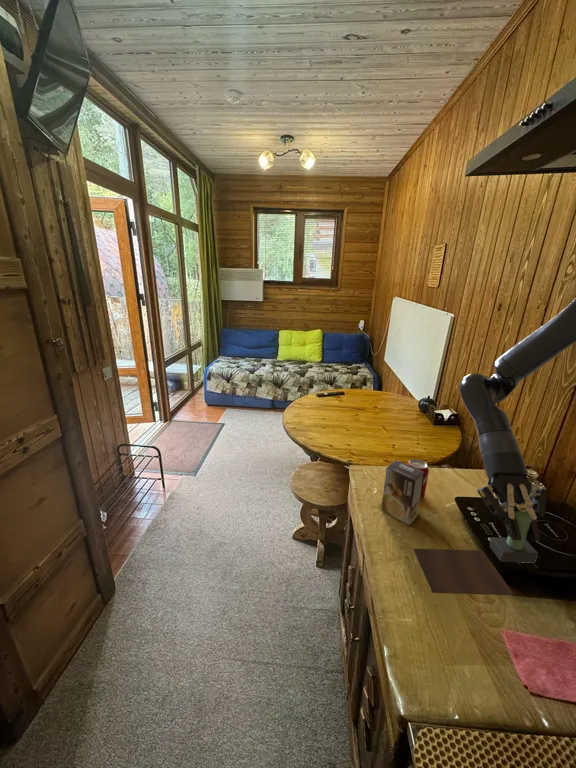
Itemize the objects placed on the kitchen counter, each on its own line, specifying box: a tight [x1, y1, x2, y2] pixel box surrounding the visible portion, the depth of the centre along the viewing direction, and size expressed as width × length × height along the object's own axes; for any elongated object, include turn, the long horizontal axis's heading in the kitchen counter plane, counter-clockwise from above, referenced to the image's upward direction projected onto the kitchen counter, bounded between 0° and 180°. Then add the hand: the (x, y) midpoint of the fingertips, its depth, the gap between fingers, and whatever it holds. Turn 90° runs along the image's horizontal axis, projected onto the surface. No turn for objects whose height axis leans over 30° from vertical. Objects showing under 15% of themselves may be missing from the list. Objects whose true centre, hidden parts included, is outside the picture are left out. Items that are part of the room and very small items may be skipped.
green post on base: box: [489, 510, 539, 563], centre depth 64 cm, size 4×7×10 cm, turn 88°
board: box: [412, 547, 515, 596], centre depth 74 cm, size 18×12×2 cm, turn 89°
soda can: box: [406, 458, 430, 501], centre depth 100 cm, size 7×7×12 cm
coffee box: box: [381, 459, 424, 526], centre depth 90 cm, size 9×6×16 cm
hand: (525, 540), depth 61 cm, fingers closed on green post on base, 3 cm apart
